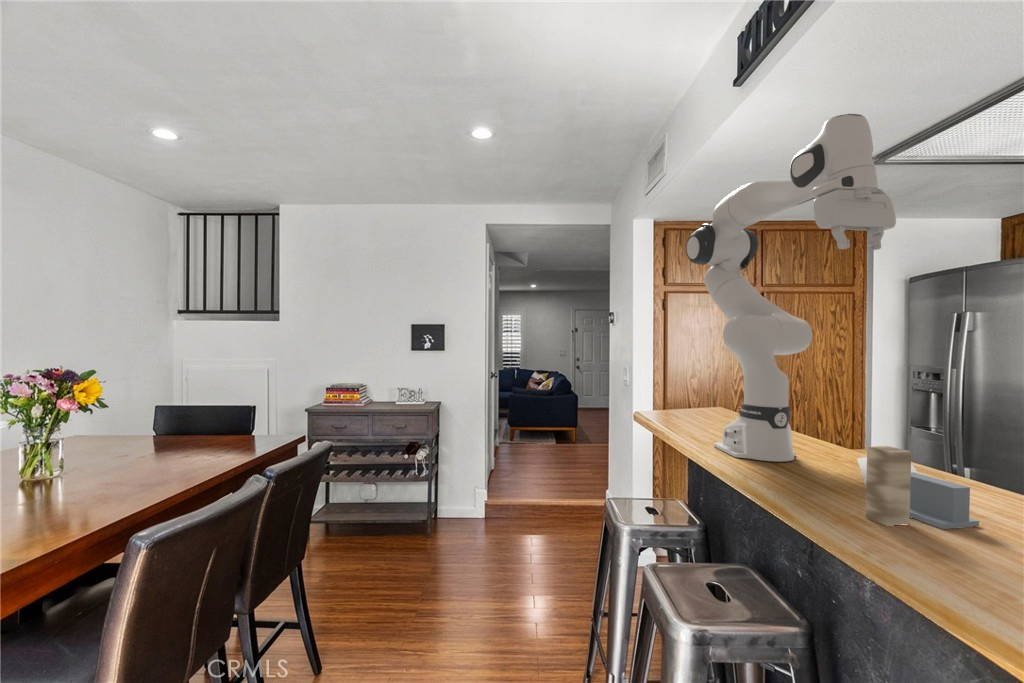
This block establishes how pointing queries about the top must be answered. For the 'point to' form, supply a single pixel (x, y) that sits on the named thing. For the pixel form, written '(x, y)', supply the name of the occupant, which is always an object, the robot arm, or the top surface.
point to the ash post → (888, 485)
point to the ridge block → (940, 502)
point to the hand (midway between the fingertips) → (859, 249)
